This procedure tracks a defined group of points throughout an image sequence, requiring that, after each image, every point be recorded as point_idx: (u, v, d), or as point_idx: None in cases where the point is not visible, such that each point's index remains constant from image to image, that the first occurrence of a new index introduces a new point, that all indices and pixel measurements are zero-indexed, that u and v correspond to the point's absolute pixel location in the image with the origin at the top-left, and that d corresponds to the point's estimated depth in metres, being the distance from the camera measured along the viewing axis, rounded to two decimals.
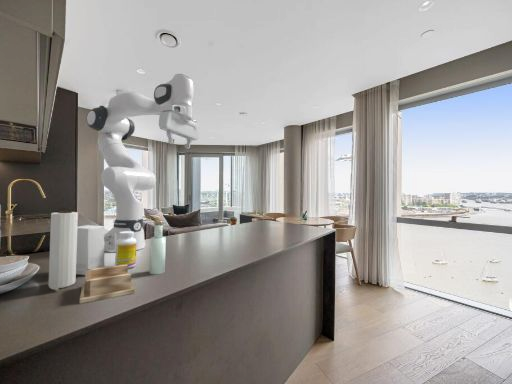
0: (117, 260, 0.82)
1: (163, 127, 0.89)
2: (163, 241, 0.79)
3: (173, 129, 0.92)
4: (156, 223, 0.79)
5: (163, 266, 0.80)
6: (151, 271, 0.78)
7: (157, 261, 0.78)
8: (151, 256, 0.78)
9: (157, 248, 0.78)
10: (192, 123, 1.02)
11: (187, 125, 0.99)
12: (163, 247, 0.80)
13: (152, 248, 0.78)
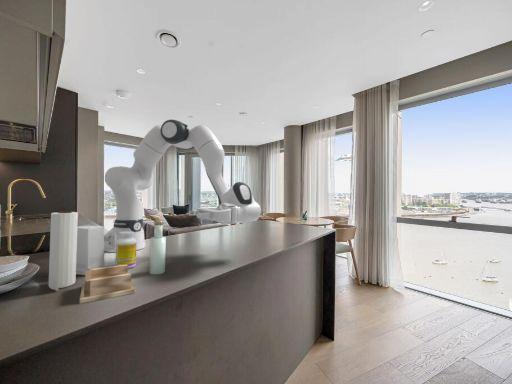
0: (117, 260, 0.82)
1: (215, 218, 0.82)
2: (163, 241, 0.79)
3: (212, 220, 0.86)
4: (156, 223, 0.79)
5: (163, 266, 0.80)
6: (151, 271, 0.78)
7: (157, 261, 0.78)
8: (151, 256, 0.78)
9: (157, 248, 0.78)
10: None
11: None
12: (163, 247, 0.80)
13: (152, 248, 0.78)
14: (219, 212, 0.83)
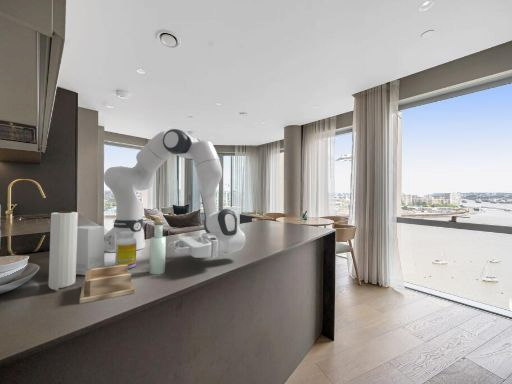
0: (117, 260, 0.82)
1: (194, 254, 0.78)
2: (163, 241, 0.80)
3: None
4: (156, 223, 0.79)
5: (163, 266, 0.80)
6: (151, 271, 0.78)
7: (157, 261, 0.78)
8: (151, 256, 0.78)
9: (157, 248, 0.78)
10: None
11: None
12: (163, 247, 0.80)
13: (152, 248, 0.78)
14: (198, 248, 0.79)
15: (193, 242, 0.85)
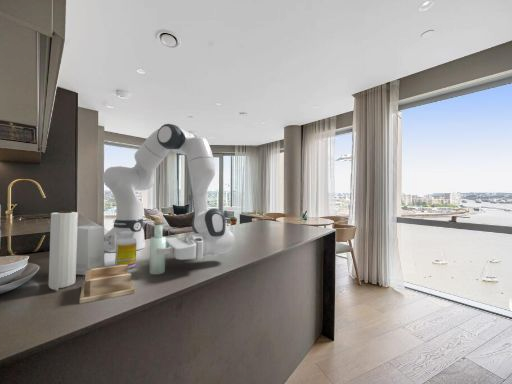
0: (117, 260, 0.82)
1: (177, 255, 0.75)
2: (163, 241, 0.80)
3: None
4: (156, 223, 0.79)
5: (163, 266, 0.80)
6: (151, 271, 0.78)
7: (157, 261, 0.78)
8: (151, 256, 0.78)
9: None
10: None
11: None
12: (163, 247, 0.80)
13: (152, 248, 0.78)
14: (181, 249, 0.75)
15: (178, 243, 0.82)
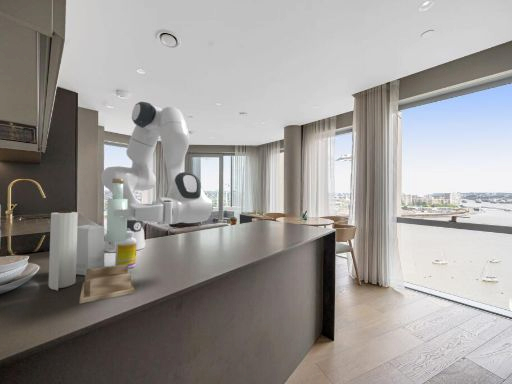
0: (117, 260, 0.82)
1: (137, 216, 0.61)
2: (123, 202, 0.66)
3: None
4: (114, 180, 0.65)
5: (123, 233, 0.66)
6: (108, 238, 0.65)
7: (116, 226, 0.65)
8: (108, 220, 0.65)
9: None
10: None
11: None
12: None
13: (109, 211, 0.64)
14: (143, 208, 0.62)
15: (142, 205, 0.68)
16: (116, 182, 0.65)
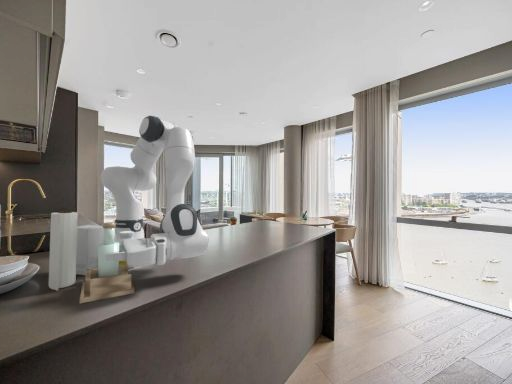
0: None
1: (129, 261, 0.60)
2: (114, 248, 0.64)
3: None
4: (105, 226, 0.63)
5: None
6: None
7: (106, 273, 0.63)
8: (99, 267, 0.63)
9: (105, 257, 0.63)
10: None
11: None
12: None
13: (100, 258, 0.63)
14: (134, 253, 0.60)
15: (135, 245, 0.67)
16: (107, 227, 0.64)
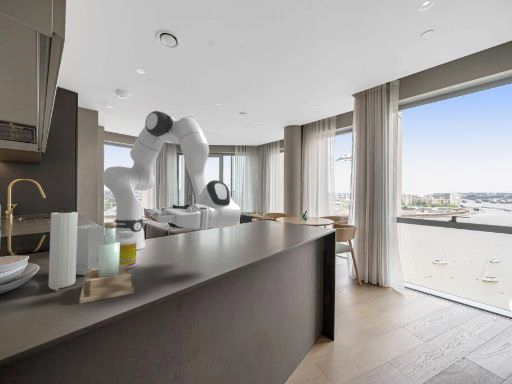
0: None
1: (179, 222, 0.67)
2: (115, 248, 0.64)
3: (176, 224, 0.70)
4: (106, 226, 0.64)
5: None
6: None
7: (107, 272, 0.63)
8: (99, 267, 0.63)
9: (106, 256, 0.63)
10: None
11: None
12: (115, 255, 0.64)
13: (100, 257, 0.63)
14: (184, 216, 0.67)
15: (180, 212, 0.74)
16: (108, 227, 0.64)
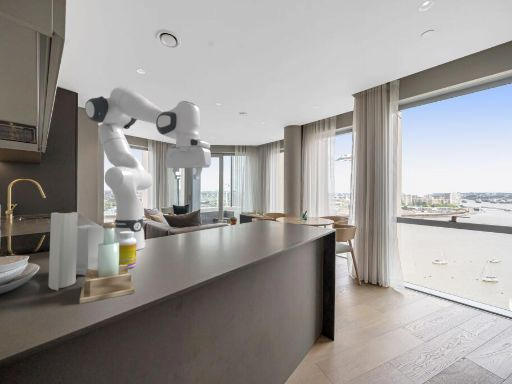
0: None
1: (208, 166, 0.86)
2: (114, 248, 0.64)
3: None
4: (105, 226, 0.64)
5: None
6: None
7: (106, 273, 0.63)
8: (99, 267, 0.63)
9: (105, 256, 0.63)
10: None
11: None
12: (114, 255, 0.64)
13: (100, 257, 0.63)
14: (205, 162, 0.84)
15: (188, 160, 0.87)
16: (107, 227, 0.64)
